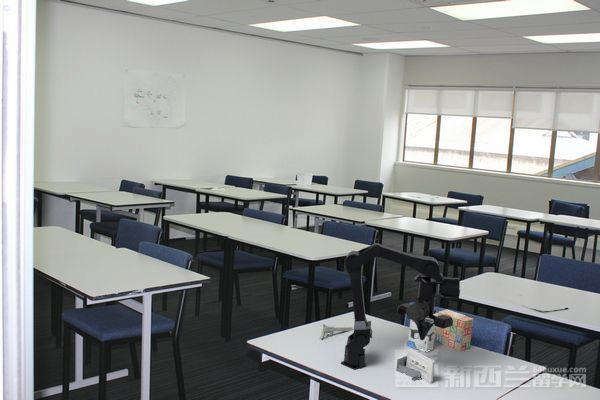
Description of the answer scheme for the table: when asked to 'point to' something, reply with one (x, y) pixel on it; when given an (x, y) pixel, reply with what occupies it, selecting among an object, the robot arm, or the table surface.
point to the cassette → (426, 367)
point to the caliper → (332, 330)
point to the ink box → (415, 339)
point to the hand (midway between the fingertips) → (422, 339)
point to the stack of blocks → (455, 331)
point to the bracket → (407, 369)
